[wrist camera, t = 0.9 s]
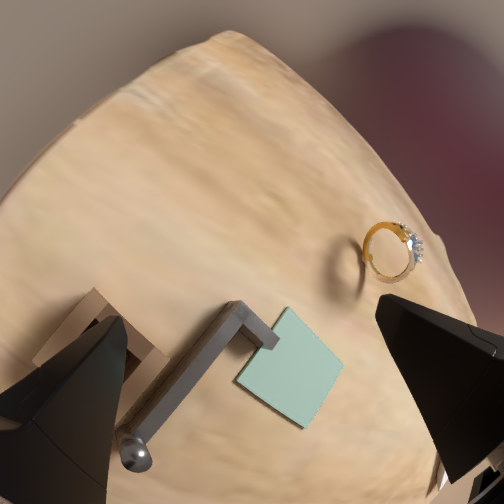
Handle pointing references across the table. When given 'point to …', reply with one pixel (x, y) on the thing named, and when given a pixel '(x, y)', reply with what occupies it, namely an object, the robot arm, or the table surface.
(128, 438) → the hook
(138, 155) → the table surface
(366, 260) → the ring
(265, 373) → the pad
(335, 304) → the table surface
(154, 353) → the brown square cubby
